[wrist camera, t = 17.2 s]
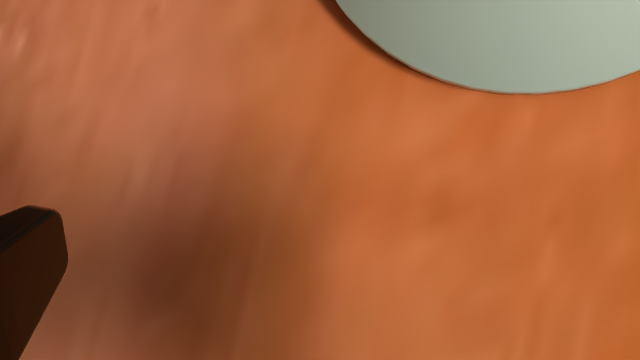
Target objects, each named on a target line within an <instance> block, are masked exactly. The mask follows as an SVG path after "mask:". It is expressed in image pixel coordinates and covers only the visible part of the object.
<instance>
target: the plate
mask: <svg viewBox="0 0 640 360" xmlns="http://www.w3.org/2000/svg"><path fill="white" fill-rule="evenodd" d="M335 1H336V2H337V3H338V5H339V6H340V8H341V9H342V10H343V12H344V13H345V15H346V16H347V17H348V18H349V19H350V20H351V21H352V22H353V23H354V25H355V26H356V27H357V28H358V29H359V30H360V31H361V32H362V33H363V34H364V35H365V36H366V37H367V38H368V39H369V40H371V41H372V42H373V43H374V44H376V45H377V46H378V47H379V48H381V49H382V50H383V51H385V52H386V53H387V54H388V55H390V56H391V57H393V58H395V59H396V60H398V61H400V62H401V63H403V64H405V65H407V66H408V67H410V68H412V69H413V70H415V71H417V72H420V73H422V74H425V75H427V76H429V77H432V78H434V79H436V80H439V81H441V82H444V83H448V84H451V85H455V86H459V87H462V88H466V89H469V90H473V91H481V92H488V93H495V94H502V95H545V94H554V93H563V92H572V91H576V90H580V89H584V88H589V87H593V86H597V85H601V84H606V83H608V82H611V81H614V80H616V79H619V78H622V77H625V76H627V75H630V74H633V73H635V72H638V71H640V0H335Z"/></svg>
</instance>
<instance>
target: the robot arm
mask: <svg viewBox="0 0 640 360" xmlns="http://www.w3.org/2000/svg"><path fill="white" fill-rule="evenodd" d="M67 263H68V252H67V246H66V240H65V234H64V228H63V222H62V218H61V215H60V214H59V212H57V211H56V210H54V209H49V208H44V207H39V206H34V205H28V206H24V207H22V208H19V209H16V210H14V211H11V212H9V213H6V214H4V215H1V216H0V360H19V358H20V356H21V354H22V353H23V351H24V349H25V347H26V345H27V343H28V341H29V340H30V338H31V336H32V334H33V332H34V330H35V328H36V326H37V324H38V322H39V321H40V319H41V317H42V315H43V313H44V311H45V309H46V307H47V305H48V304H49V302H50V300H51V298H52V296H53V294H54V292H55V290H56V288H57V287H58V285H59V283H60V281H61V279H62V277H63V275H64V273H65V271H66V268H67Z"/></svg>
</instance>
